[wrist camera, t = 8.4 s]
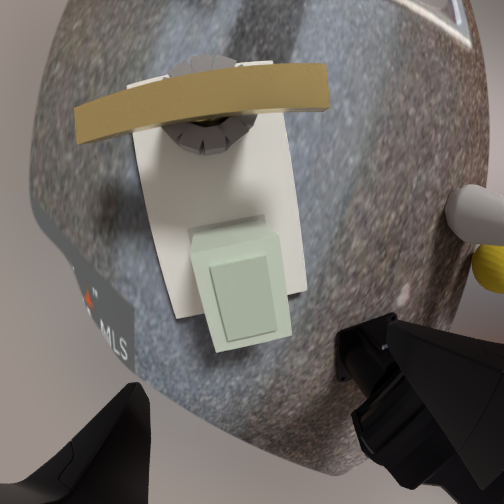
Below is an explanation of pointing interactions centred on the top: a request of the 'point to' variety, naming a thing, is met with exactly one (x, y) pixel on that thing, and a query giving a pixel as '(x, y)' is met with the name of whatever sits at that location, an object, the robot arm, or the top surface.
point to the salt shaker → (476, 215)
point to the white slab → (216, 186)
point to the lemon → (489, 267)
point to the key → (205, 99)
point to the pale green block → (241, 284)
